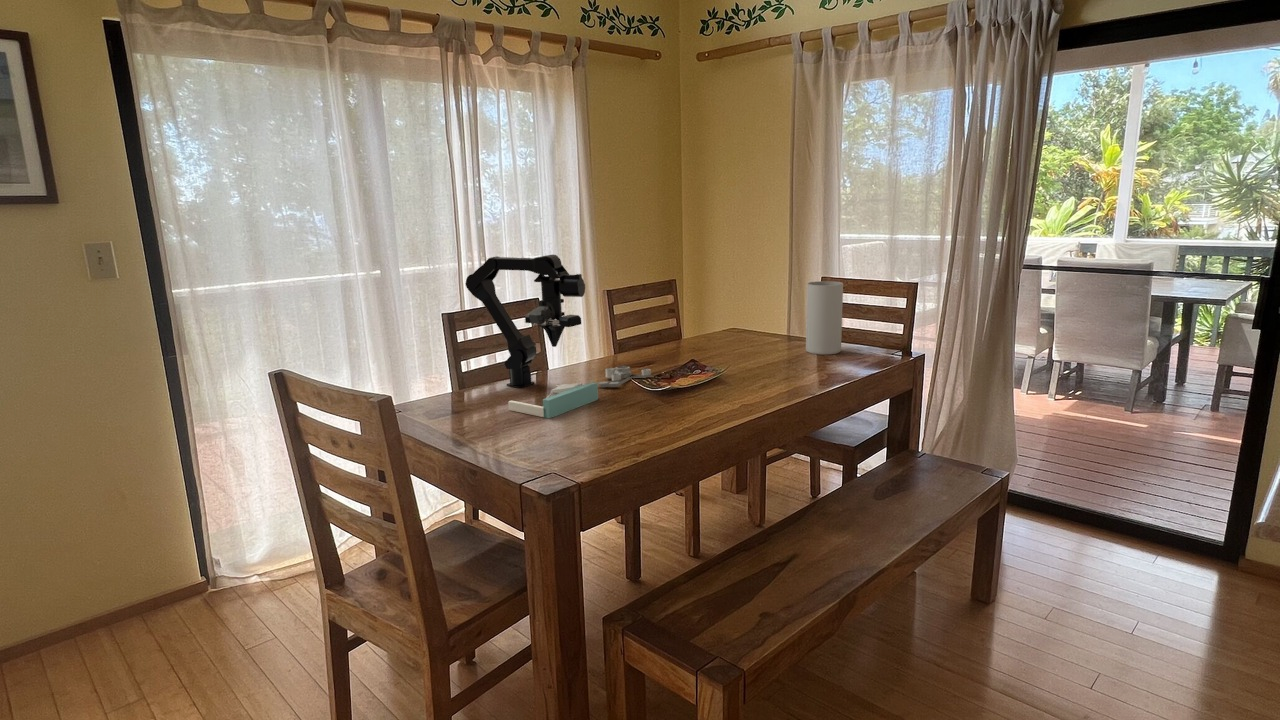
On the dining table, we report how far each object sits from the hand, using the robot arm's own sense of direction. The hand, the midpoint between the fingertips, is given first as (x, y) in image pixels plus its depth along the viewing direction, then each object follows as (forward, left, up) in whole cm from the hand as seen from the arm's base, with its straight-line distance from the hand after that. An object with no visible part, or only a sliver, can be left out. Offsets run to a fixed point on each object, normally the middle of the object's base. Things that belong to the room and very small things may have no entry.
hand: (554, 346), depth 220 cm
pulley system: (+15, +19, -14) cm, 28 cm away
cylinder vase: (+53, +86, -13) cm, 102 cm away
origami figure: (+14, -12, -13) cm, 22 cm away
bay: (+13, -15, -13) cm, 23 cm away
